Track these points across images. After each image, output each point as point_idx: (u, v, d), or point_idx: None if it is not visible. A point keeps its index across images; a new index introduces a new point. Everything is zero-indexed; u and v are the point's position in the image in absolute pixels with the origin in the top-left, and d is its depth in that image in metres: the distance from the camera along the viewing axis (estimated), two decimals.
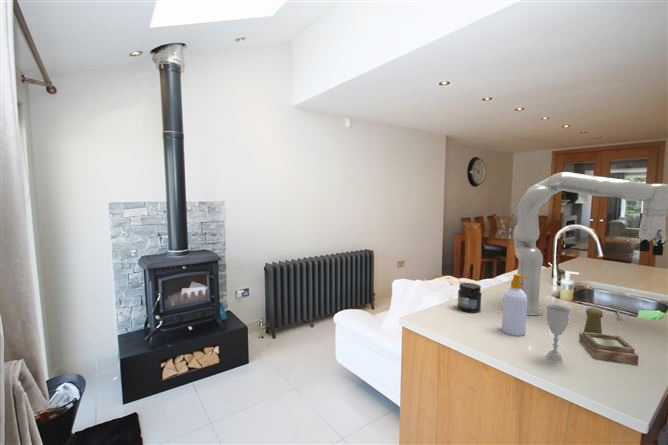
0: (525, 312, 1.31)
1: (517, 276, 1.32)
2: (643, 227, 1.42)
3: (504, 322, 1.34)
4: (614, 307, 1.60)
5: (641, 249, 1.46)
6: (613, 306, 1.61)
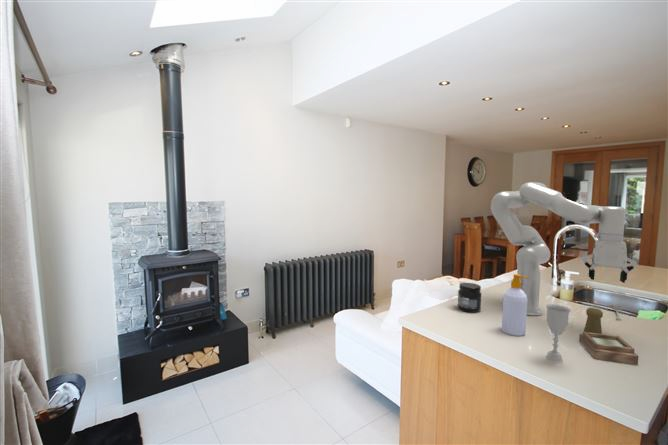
0: (525, 312, 1.31)
1: (517, 276, 1.32)
2: (608, 254, 1.29)
3: (504, 322, 1.34)
4: (614, 307, 1.60)
5: (593, 277, 1.33)
6: (613, 306, 1.61)
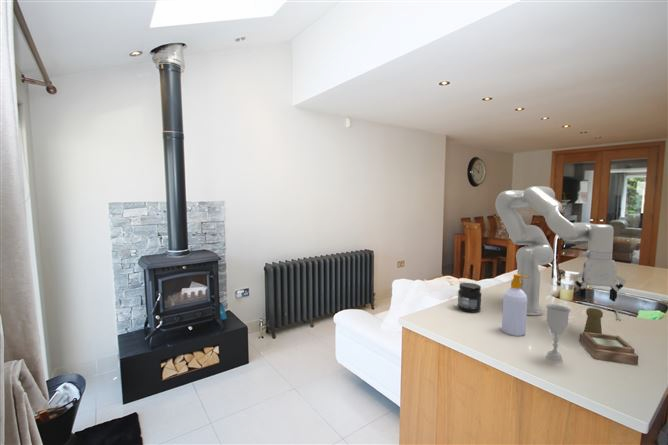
0: (525, 312, 1.31)
1: (517, 276, 1.32)
2: (598, 273, 1.27)
3: (504, 322, 1.34)
4: (614, 307, 1.60)
5: (584, 296, 1.30)
6: (613, 306, 1.61)
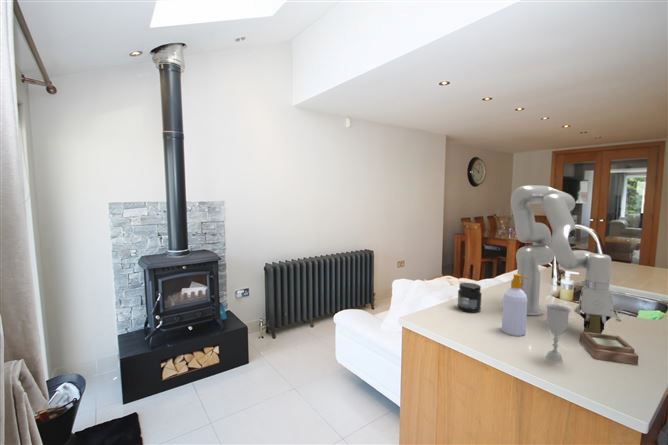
0: (525, 312, 1.31)
1: (517, 276, 1.32)
2: (595, 302, 1.28)
3: (504, 322, 1.34)
4: (614, 308, 1.59)
5: None
6: (613, 307, 1.60)
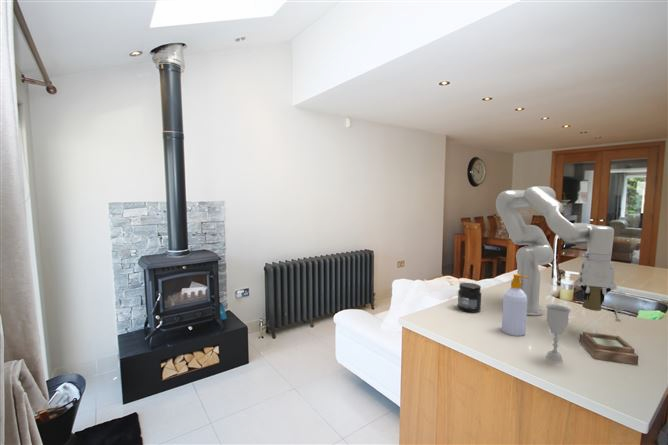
0: (525, 312, 1.31)
1: (517, 276, 1.32)
2: (596, 274, 1.28)
3: (504, 322, 1.34)
4: (614, 308, 1.59)
5: None
6: (613, 307, 1.60)
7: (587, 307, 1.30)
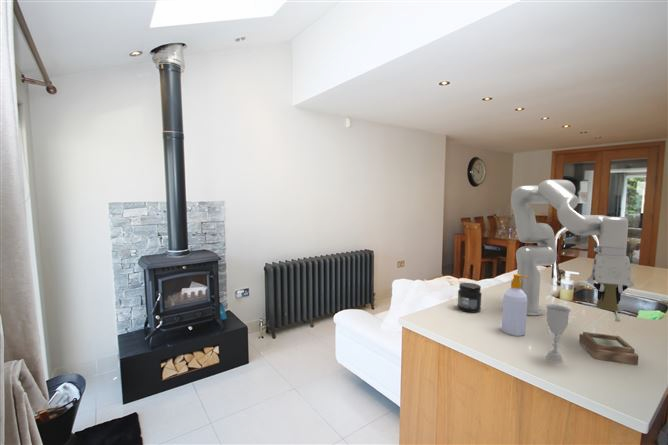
0: (525, 312, 1.31)
1: (517, 276, 1.32)
2: (611, 270, 1.15)
3: (504, 322, 1.34)
4: None
5: None
6: None
7: (602, 307, 1.18)
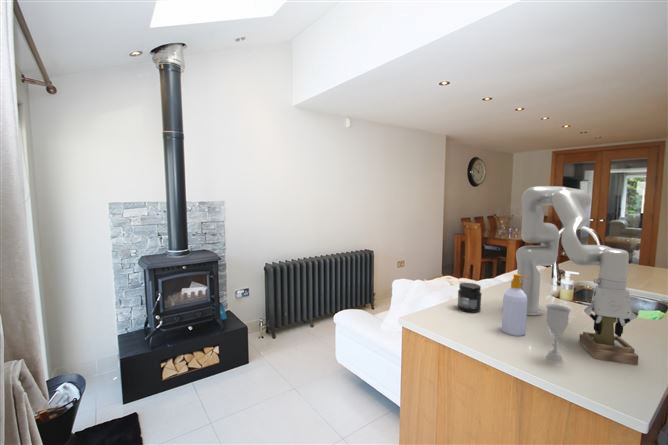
0: (525, 312, 1.31)
1: (517, 276, 1.32)
2: (610, 303, 1.14)
3: (504, 322, 1.34)
4: None
5: None
6: None
7: (599, 342, 1.17)
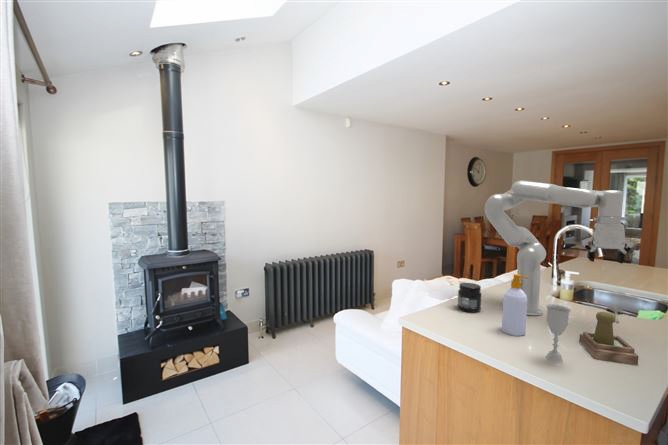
0: (525, 312, 1.31)
1: (517, 276, 1.32)
2: (607, 236, 1.33)
3: (504, 322, 1.34)
4: (613, 309, 1.57)
5: (593, 259, 1.37)
6: (613, 308, 1.58)
7: (598, 342, 1.17)
